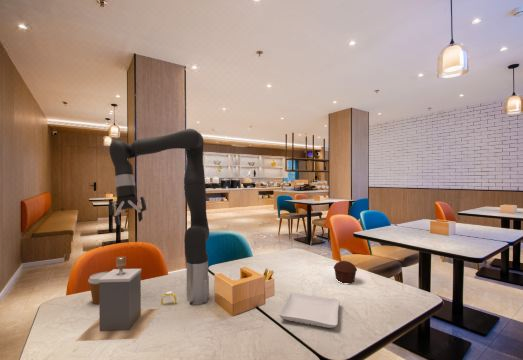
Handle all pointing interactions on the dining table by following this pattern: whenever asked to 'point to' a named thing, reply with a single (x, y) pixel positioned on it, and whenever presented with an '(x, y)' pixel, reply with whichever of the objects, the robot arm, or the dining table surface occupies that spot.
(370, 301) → the dining table surface
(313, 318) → the salad plate
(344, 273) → the muffin
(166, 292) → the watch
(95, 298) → the disposable coffee cup
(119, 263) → the plunger
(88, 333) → the oak board
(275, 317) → the dining table surface
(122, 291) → the block
